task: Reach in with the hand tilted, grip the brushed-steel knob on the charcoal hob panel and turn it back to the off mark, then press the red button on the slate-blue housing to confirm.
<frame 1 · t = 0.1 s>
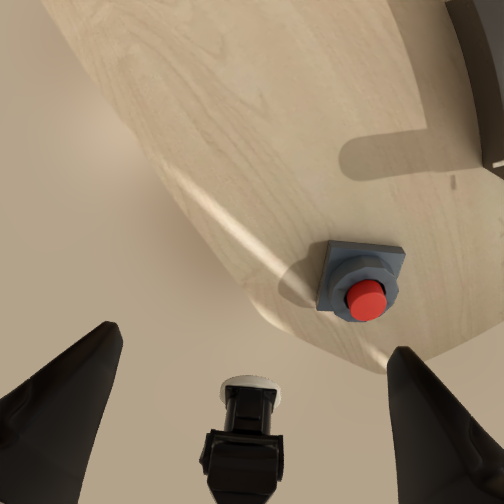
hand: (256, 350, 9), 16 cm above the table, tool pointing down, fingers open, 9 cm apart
button box: (358, 276, 26), on the table
confirm button: (366, 300, 24), point 3 cm above the table, slide at 0.1 cm
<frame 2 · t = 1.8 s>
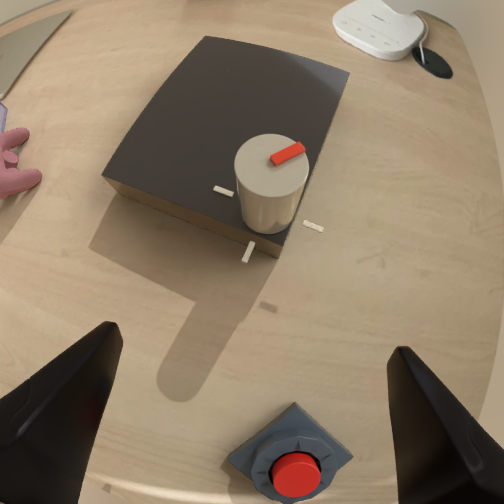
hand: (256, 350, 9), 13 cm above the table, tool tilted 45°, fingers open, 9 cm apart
button box: (290, 455, 19), on the table
hob panel: (237, 136, 26), on the table
stove knob: (269, 188, 17), point 7 cm above the table, hinge at -36.0°
video game controller: (22, 170, 26), on the table
confirm button: (295, 475, 16), point 3 cm above the table, slide at 0.1 cm
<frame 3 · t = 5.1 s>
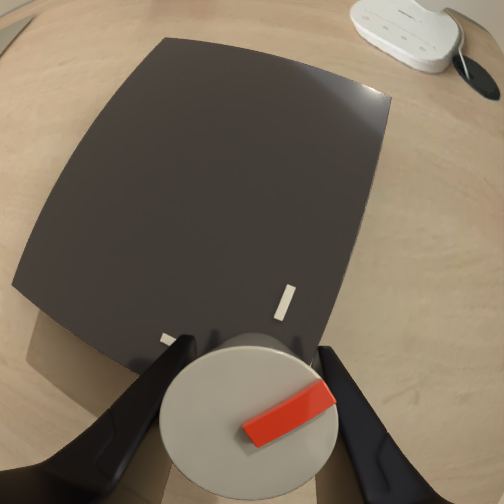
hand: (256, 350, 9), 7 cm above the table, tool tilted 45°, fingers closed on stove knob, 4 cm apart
hob panel: (210, 205, 17), on the table
stove knob: (250, 398, 8), point 7 cm above the table, hinge at -36.0°, touching gripper
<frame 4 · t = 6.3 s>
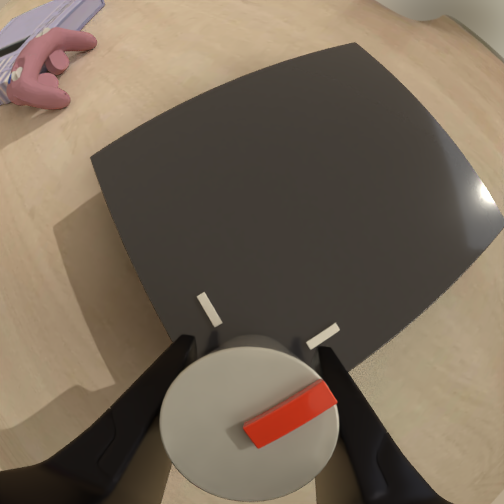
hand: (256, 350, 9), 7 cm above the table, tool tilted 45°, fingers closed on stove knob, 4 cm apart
hob panel: (308, 210, 17), on the table
stove knob: (251, 399, 8), point 7 cm above the table, hinge at 0.3°, touching gripper
gaming console: (22, 57, 23), on the table
video game controller: (63, 81, 20), on the table
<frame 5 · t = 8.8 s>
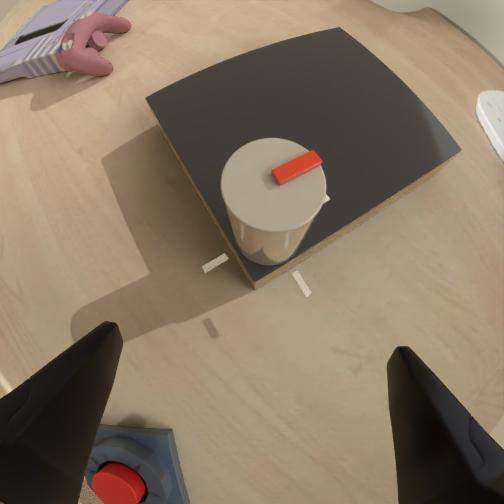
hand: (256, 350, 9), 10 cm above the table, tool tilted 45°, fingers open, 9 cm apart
button box: (137, 466, 16), on the table
hob panel: (305, 141, 21), on the table
stove knob: (270, 210, 13), point 7 cm above the table, hinge at -1.2°
gaming console: (55, 39, 28), on the table
video game controller: (102, 56, 25), on the table
confirm button: (118, 487, 13), point 3 cm above the table, slide at 0.1 cm
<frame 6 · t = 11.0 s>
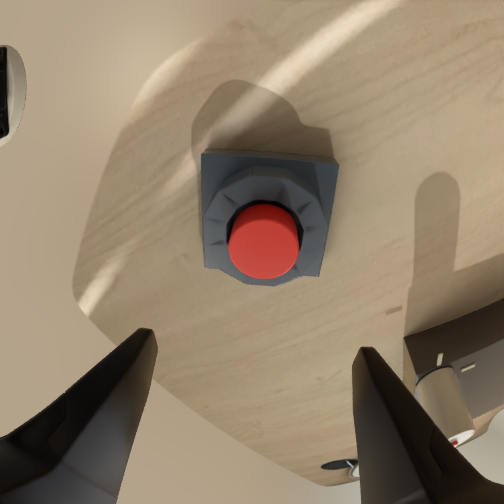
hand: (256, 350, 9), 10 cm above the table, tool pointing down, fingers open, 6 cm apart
button box: (266, 211, 17), on the table
hob panel: (463, 365, 24), on the table
stove knob: (445, 411, 16), point 7 cm above the table, hinge at -1.2°
confirm button: (264, 241, 14), point 3 cm above the table, slide at 0.1 cm
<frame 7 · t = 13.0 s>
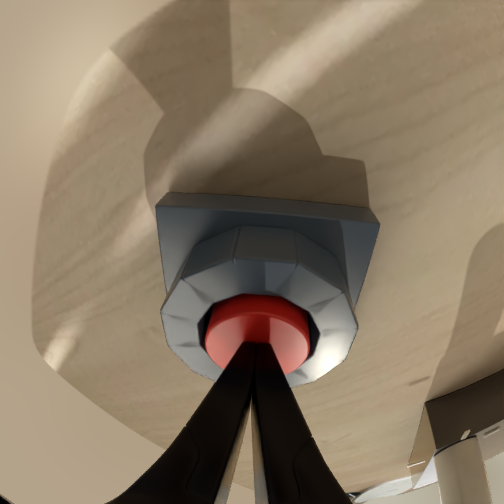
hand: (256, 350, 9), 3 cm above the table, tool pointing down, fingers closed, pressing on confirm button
button box: (262, 282, 12), on the table
hob panel: (481, 414, 19), on the table
stove knob: (463, 483, 11), point 7 cm above the table, hinge at -1.2°
confirm button: (258, 330, 9), point 3 cm above the table, slide at -0.8 cm, touching gripper
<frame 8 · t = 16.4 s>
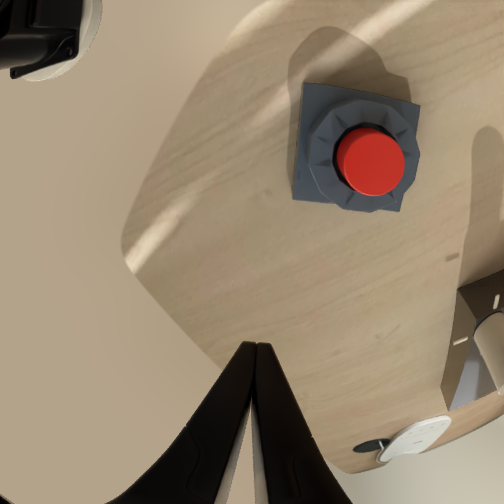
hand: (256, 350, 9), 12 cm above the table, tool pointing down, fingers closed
button box: (353, 146, 16), on the table
hob panel: (500, 326, 24), on the table
confirm button: (370, 160, 14), point 3 cm above the table, slide at 0.1 cm
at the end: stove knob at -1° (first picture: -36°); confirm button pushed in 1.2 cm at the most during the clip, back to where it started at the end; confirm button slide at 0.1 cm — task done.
